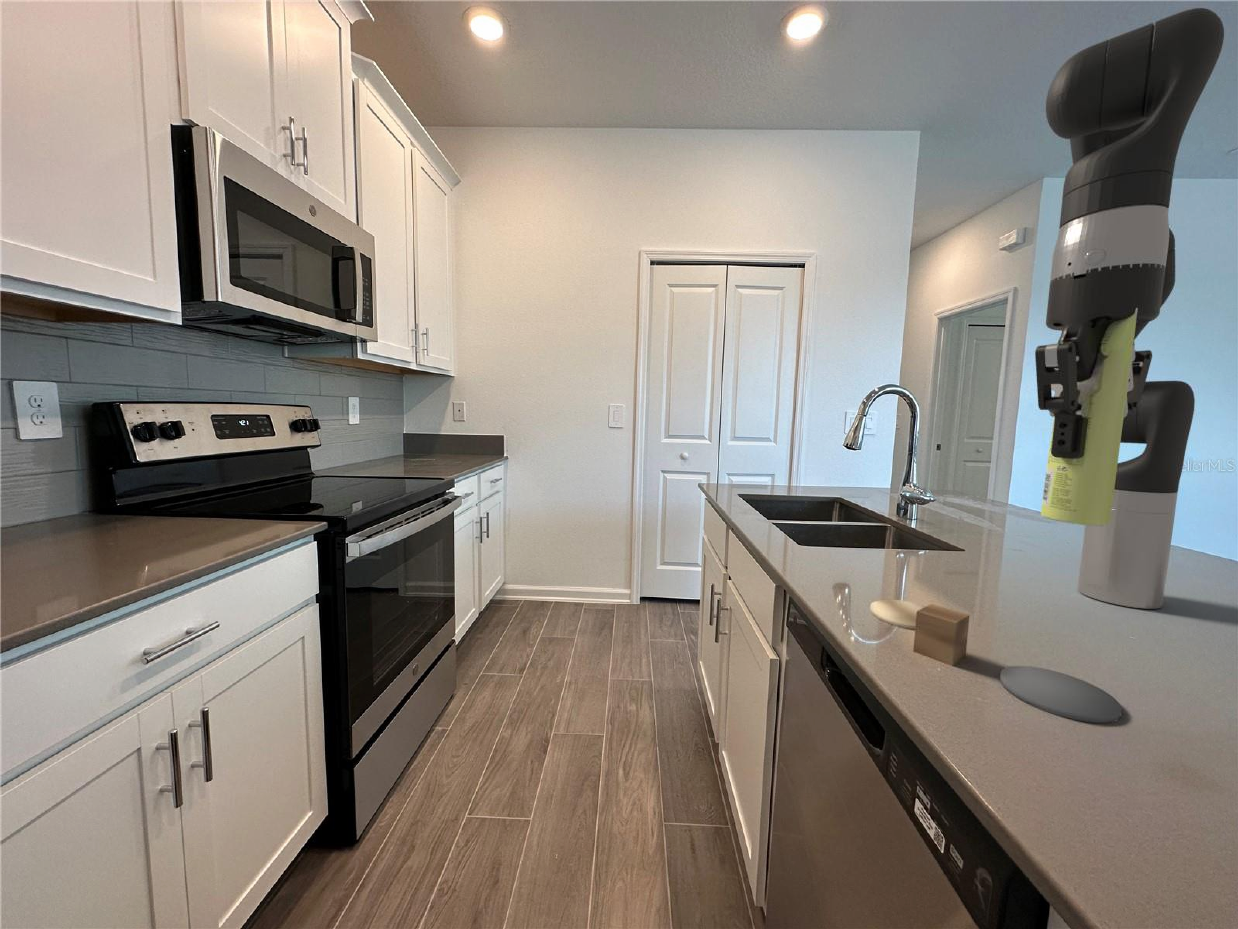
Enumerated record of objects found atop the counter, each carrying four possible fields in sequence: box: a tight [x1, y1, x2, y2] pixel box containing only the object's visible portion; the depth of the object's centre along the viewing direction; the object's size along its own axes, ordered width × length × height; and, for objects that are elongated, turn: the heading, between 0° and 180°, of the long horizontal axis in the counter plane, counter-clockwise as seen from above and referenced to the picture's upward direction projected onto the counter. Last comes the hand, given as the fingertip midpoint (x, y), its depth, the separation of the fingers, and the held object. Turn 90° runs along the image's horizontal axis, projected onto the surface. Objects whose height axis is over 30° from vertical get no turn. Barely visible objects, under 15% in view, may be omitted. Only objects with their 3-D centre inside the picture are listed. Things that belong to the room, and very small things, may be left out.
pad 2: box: [999, 665, 1122, 724], centre depth 49 cm, size 9×9×1 cm
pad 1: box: [869, 599, 927, 631], centre depth 68 cm, size 9×9×1 cm
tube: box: [1040, 308, 1138, 526], centre depth 46 cm, size 6×5×20 cm
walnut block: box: [913, 603, 970, 667], centre depth 57 cm, size 4×4×5 cm
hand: (1083, 456), depth 46 cm, fingers closed on tube, 4 cm apart
